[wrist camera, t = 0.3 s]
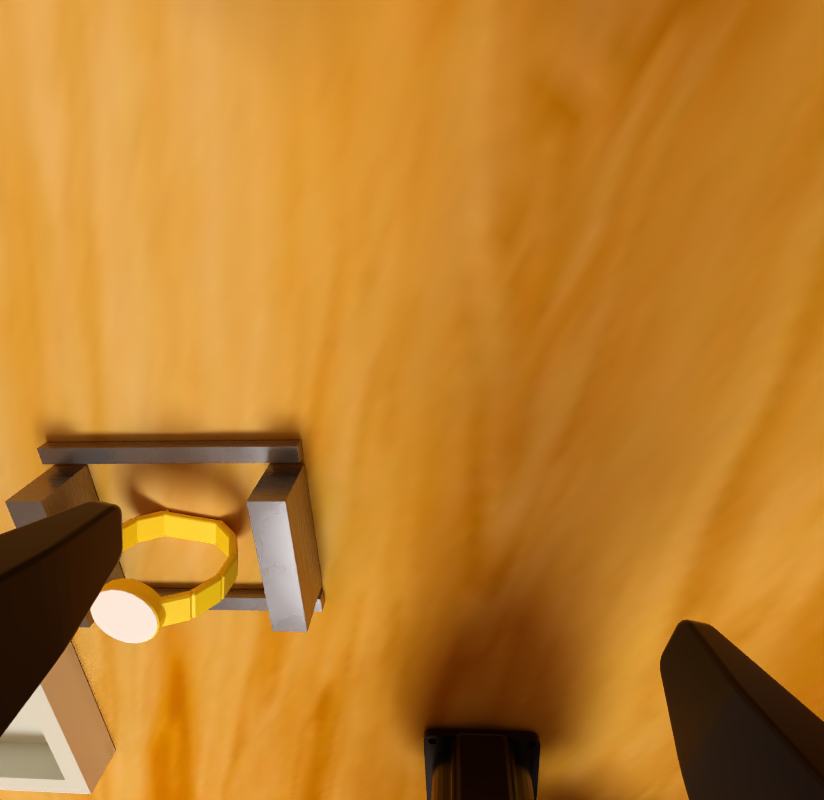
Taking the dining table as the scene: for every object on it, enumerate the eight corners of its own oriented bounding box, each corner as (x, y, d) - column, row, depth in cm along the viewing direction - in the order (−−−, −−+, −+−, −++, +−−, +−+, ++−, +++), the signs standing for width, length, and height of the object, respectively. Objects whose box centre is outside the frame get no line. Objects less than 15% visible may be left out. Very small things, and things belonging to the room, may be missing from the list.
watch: (141, 534, 27) (50, 625, 21) (138, 488, 26) (42, 572, 20) (255, 561, 26) (192, 661, 21) (257, 515, 25) (192, 608, 20)
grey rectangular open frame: (324, 602, 27) (310, 651, 24) (102, 599, 28) (65, 645, 25) (300, 440, 23) (280, 475, 21) (46, 442, 24) (-6, 476, 22)
